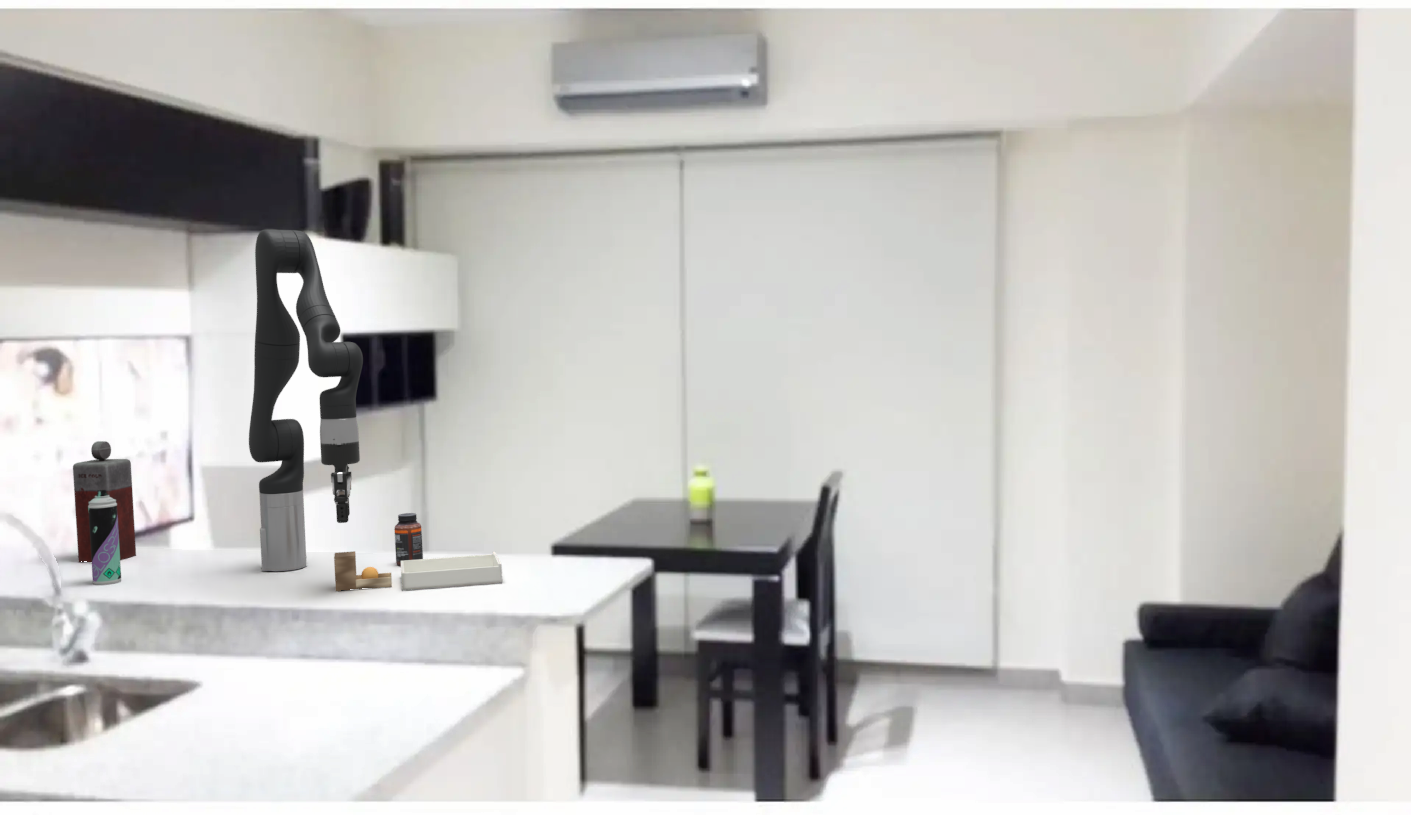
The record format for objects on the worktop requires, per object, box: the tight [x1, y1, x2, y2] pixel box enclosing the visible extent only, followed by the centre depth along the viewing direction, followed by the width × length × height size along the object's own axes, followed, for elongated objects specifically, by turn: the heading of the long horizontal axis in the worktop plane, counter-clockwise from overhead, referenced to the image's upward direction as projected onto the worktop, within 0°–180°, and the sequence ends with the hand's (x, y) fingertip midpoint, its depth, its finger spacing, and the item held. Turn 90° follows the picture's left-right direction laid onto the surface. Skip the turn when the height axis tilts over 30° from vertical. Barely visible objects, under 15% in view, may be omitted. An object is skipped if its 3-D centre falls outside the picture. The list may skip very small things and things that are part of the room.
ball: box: [360, 566, 379, 579], centre depth 246 cm, size 3×3×3 cm
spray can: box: [88, 490, 122, 586], centre depth 256 cm, size 6×6×20 cm
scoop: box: [333, 551, 393, 592], centre depth 246 cm, size 11×5×7 cm, turn 105°
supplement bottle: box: [393, 512, 424, 567], centre depth 269 cm, size 6×6×11 cm
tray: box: [400, 551, 503, 592], centre depth 251 cm, size 20×14×4 cm
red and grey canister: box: [72, 440, 137, 563], centre depth 283 cm, size 9×11×28 cm
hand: (343, 519), depth 244 cm, fingers open, 8 cm apart
